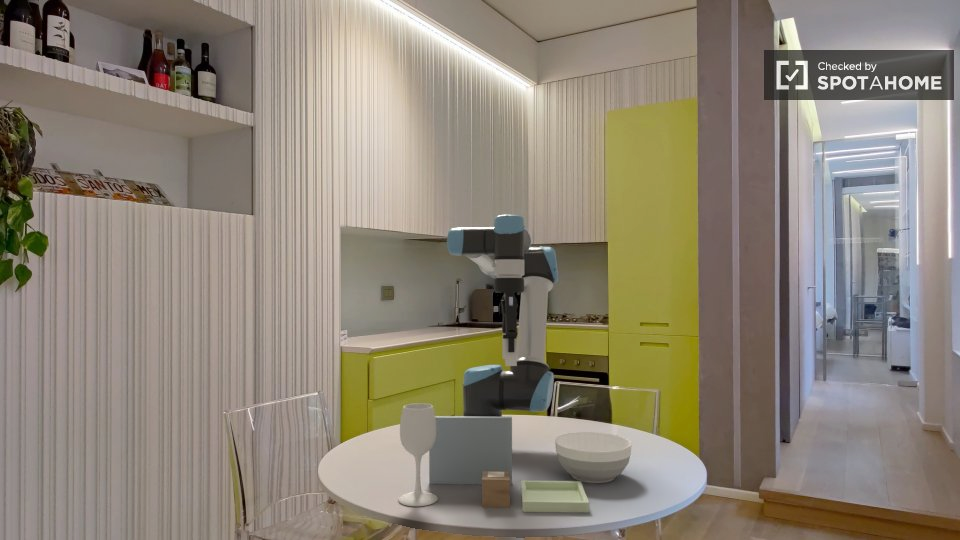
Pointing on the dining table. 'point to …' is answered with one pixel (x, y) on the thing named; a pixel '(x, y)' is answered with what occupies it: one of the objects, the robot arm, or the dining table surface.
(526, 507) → the tray
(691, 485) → the dining table surface
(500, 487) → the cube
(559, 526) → the dining table surface
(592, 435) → the bowl
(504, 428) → the screen
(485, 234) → the robot arm
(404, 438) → the wineglass
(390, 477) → the dining table surface
